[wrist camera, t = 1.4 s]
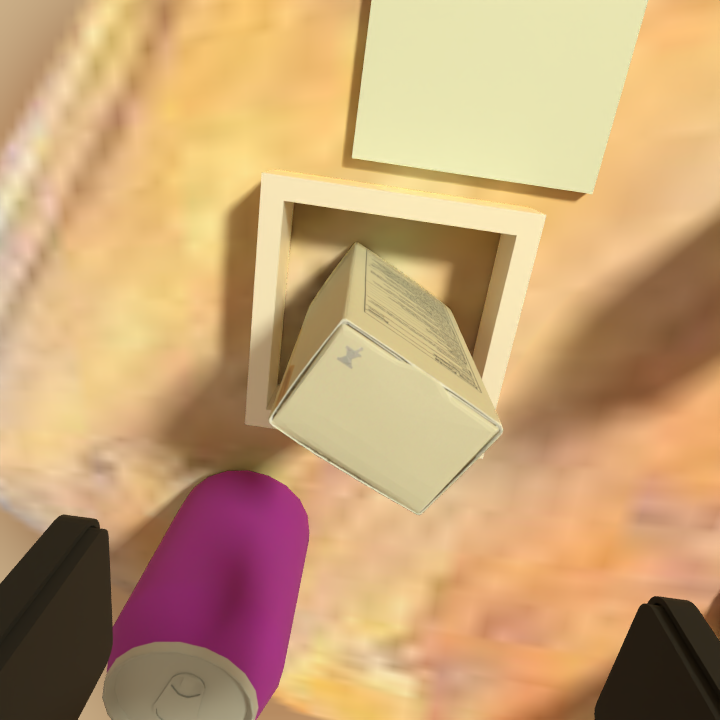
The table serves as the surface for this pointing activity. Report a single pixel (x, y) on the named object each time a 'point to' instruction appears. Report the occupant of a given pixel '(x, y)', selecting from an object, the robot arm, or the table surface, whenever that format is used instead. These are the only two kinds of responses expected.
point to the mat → (496, 86)
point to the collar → (288, 187)
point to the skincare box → (385, 385)
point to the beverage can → (212, 606)
